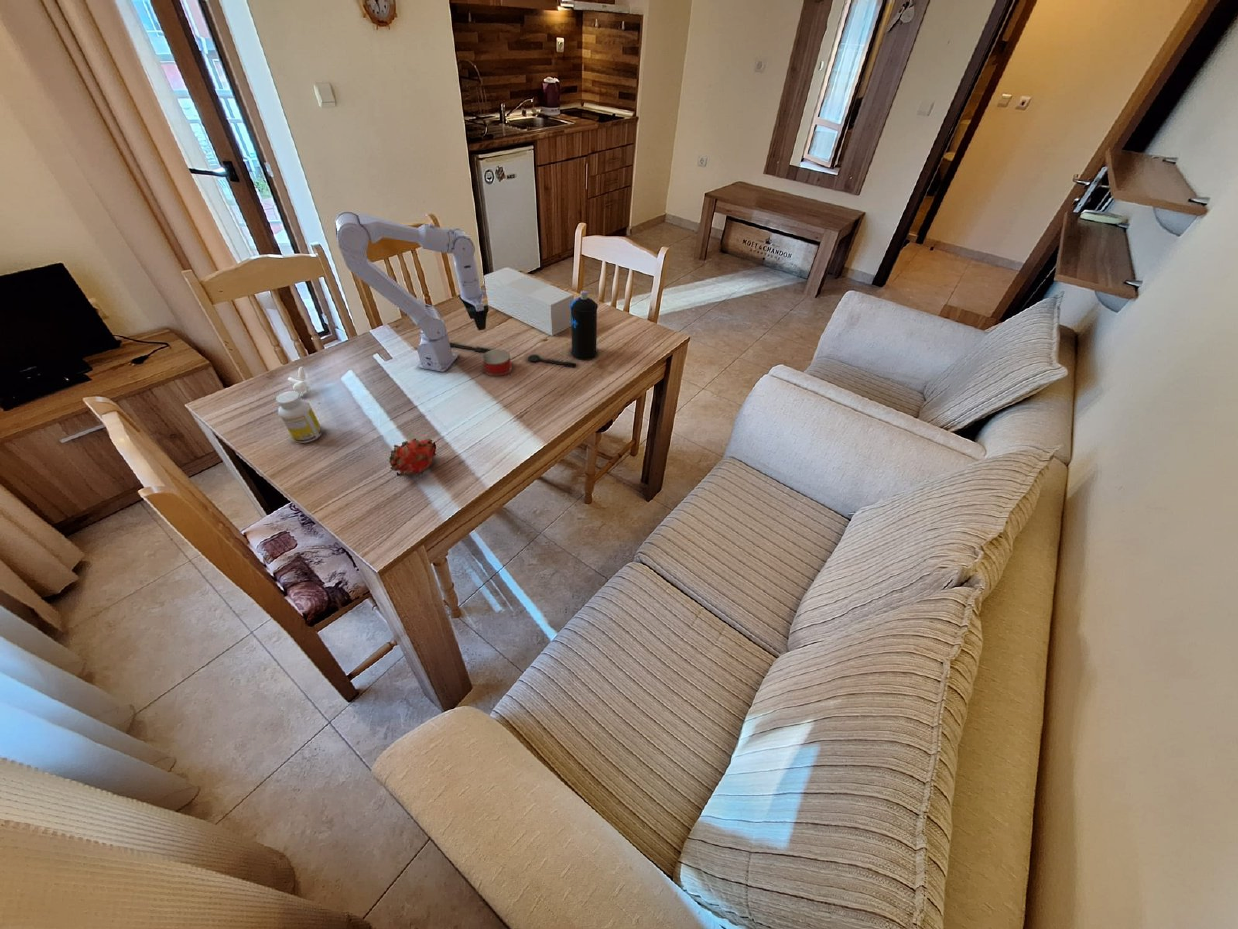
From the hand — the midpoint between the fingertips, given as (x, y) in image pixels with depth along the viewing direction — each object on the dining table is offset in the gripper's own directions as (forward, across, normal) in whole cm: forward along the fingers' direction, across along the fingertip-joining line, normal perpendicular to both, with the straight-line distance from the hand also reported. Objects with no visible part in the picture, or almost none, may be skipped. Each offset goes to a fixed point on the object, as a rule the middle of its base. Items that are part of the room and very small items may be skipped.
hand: (477, 323), depth 141 cm
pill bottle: (+8, -20, +50) cm, 55 cm away
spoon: (+10, -14, -17) cm, 24 cm away
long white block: (+11, +17, -22) cm, 30 cm away
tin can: (+10, -11, -1) cm, 14 cm away
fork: (+10, +5, +4) cm, 11 cm away
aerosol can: (+11, -14, -28) cm, 33 cm away
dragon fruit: (+9, -43, +29) cm, 52 cm away
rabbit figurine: (+8, +2, +50) cm, 51 cm away
